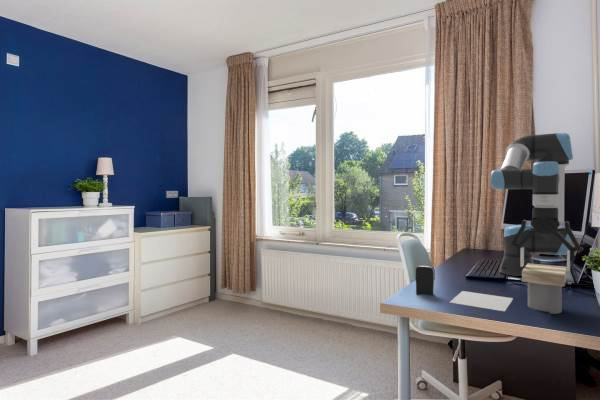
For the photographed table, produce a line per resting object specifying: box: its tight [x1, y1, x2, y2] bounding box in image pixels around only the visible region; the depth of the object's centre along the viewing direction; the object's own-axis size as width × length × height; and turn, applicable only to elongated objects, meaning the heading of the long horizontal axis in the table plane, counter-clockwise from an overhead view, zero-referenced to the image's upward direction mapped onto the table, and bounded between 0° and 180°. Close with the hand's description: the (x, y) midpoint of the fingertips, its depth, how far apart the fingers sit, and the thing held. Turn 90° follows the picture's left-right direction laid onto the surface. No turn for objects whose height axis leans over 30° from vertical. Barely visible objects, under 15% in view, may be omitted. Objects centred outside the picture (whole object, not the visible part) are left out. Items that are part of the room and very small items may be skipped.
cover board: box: [521, 263, 568, 287], centre depth 135 cm, size 16×12×4 cm
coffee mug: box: [527, 282, 563, 315], centre depth 135 cm, size 13×10×10 cm
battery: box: [415, 264, 436, 296], centre depth 153 cm, size 7×4×11 cm, turn 58°
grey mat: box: [449, 290, 514, 313], centre depth 143 cm, size 18×18×1 cm
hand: (544, 268), depth 135 cm, fingers open, 13 cm apart
